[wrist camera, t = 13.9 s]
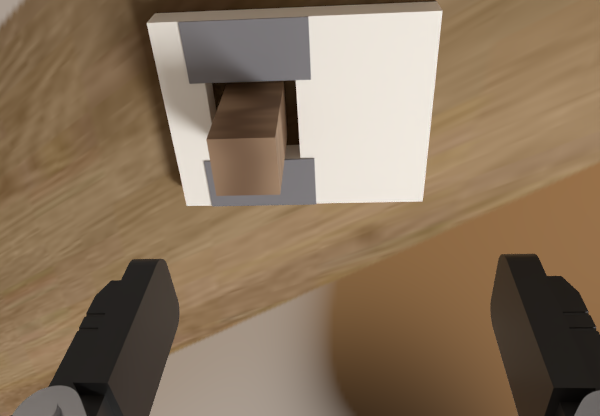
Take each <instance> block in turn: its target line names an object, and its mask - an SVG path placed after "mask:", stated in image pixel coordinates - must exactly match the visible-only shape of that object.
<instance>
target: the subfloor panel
mask: <svg viewBox="0 0 600 416" xmlns="http://www.w3.org/2000/svg"><path fill="white" fill-rule="evenodd" d="M441 20H442V9H441V8H440V6H439V4H438V3H437V1H433V2H409V3H385V4H362V5H338V6H315V7H291V8H268V9H244V10H220V11H197V12H173V13H155V14H154V15H153V16H152V17H151V18H150V20H149V21H148V22H147V27H148V32H149V36H150V41H151V46H152V50H153V55H154V59H155V64H156V68H157V73H158V77H159V82H160V86H161V91H162V95H163V100H164V104H165V109H166V113H167V118H168V122H169V127H170V132H171V136H172V141H173V145H174V150H175V154H176V159H177V163H178V168H179V172H180V177H181V181H182V186H183V190H184V195H185V199H186V204H187V206H205V205H212V206H253V205H305V204H316V203H361V202H413V201H423V193H424V183H425V173H426V164H427V154H428V145H429V135H430V125H431V116H432V106H433V96H434V87H435V77H436V68H437V58H438V48H439V39H440V29H441ZM287 80H296V93H297V110H298V127H299V143H300V145H286V151H285V159H284V168H283V176H282V185H281V193H280V195H240V196H216V191H215V186H214V180H213V174H212V169H211V163H210V158H209V152H208V146H207V141H206V139H207V136H208V133H209V131H210V128H211V125H212V122H213V120H214V117H215V114H216V112H217V111H216V105H215V99H214V92H213V86H212V83H228V82H257V81H287Z"/></svg>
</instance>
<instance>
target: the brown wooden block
mask: <svg viewBox="0 0 600 416" xmlns="http://www.w3.org/2000/svg"><path fill="white" fill-rule="evenodd" d="M287 134H288V129H287V116H286V102H285V89H284V81H277V82H247V83H227V84H226V87H225V90H224V92H223V95H222V98H221V101H220V103H219V106H218V109H217V112H216V114H215V117H214V120H213V122H212V125H211V128H210V131H209V133H208V136H207V139H206V141H207V146H208V152H209V158H210V163H211V169H212V174H213V180H214V186H215V191H216V196H240V195H280V193H281V185H282V176H283V168H284V159H285V151H286V143H287Z"/></svg>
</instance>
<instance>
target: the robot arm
mask: <svg viewBox="0 0 600 416" xmlns="http://www.w3.org/2000/svg"><path fill="white" fill-rule="evenodd" d="M86 314H87V316H86V317H84V319H83V321H82V323H81V325H80V327H79V331H77V333H76V335H75V337H74V339H73V341H72V343H71V344H70V346H69V348H68V350H67V352H66V354H65V356H64V358H63V360H62V362H61V364H60V366H59V368H58V370H57V372H56V374H55V376H54V378H53V380H52V381H51V383H50V385H49V387H47V388H44V389H42V390H39V391H37V392H36V393H34V394H32V395H31V396H29V397H28V398H27V399H25V400H24V401H23V402H22V403H21V404H20V405H19V406H18V408H17V409H16V410H15V412H14V413H13V415H11V416H149V414H150V411H151V407H152V405H153V401H154V398H155V395H156V392H157V389H158V386H159V383H160V380H161V376H162V373H163V370H164V367H165V364H166V361H167V358H168V355H169V352H170V349H171V346H172V343H173V339H174V336H175V333H176V330H177V327H178V323H179V303H178V299H177V296H176V293H175V289H174V286H173V283H172V279H171V276H170V273H169V270H168V266H167V264H166V262H165V260H164V259H134V260H132V261H131V262H130V263H129V265H128V267H127V269H126V271H125V273H124V275H123V277H122V280H119V281H110V282H109V283H108V284H107V285H106V286H105V287H104V288H103V289H102V290H101V291H100V292H99V293H98V294H97V295H96V296H95V298H94V300H93V302H92V304H91V306H90V307H89V309H88V311H87V313H86ZM491 319H492V325H493V329H494V333H495V336H496V340H497V343H498V346H499V350H500V353H501V357H502V360H503V363H504V367H505V370H506V374H507V377H508V381H509V384H510V388H511V391H512V394H513V398H514V401H515V405H516V408H517V412H518V415H519V416H600V334H599V332H598V331H596V326H595V324H594V322H593V320H592V318H591V316H590V315H589V314H588V310H587V308H586V306H585V304H584V302H583V299H582V298H581V295H580V294H579V292H578V291H577V290H576V289H575V288H573V286H571V285H570V284H569V283H568V282H567V281H566V280H565V279H564V278H563V277H561V276H546V273H545V271H544V269H543V267H542V265H541V262H540V260H539V258H538V256H537V255H536V254H502V255H501V256H500V257H499V261H498V266H497V271H496V277H495V281H494V287H493V292H492V298H491Z"/></svg>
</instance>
